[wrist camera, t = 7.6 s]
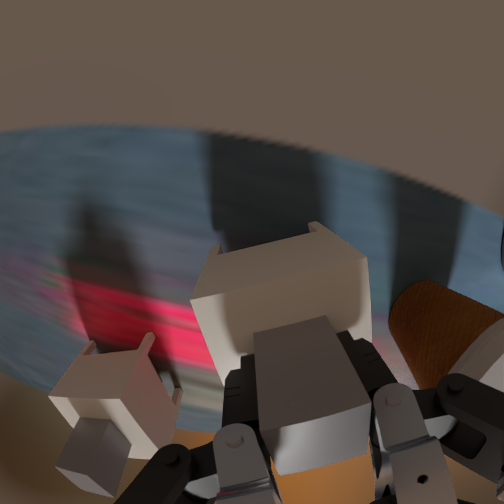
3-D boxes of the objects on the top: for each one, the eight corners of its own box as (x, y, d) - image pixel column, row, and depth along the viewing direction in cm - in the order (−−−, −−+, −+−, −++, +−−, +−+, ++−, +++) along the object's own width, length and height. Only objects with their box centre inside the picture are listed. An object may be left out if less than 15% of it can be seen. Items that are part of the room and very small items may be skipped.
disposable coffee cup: (369, 277, 20) (463, 370, 9) (456, 251, 20) (554, 304, 9) (371, 367, 23) (424, 463, 11) (448, 336, 23) (514, 404, 11)
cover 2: (316, 221, 18) (443, 317, 5) (331, 313, 20) (409, 456, 7) (211, 246, 18) (156, 390, 6) (238, 335, 20) (237, 499, 8)
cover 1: (152, 331, 21) (92, 461, 9) (182, 392, 23) (156, 513, 11) (89, 340, 21) (18, 440, 9) (122, 395, 23) (79, 496, 11)
